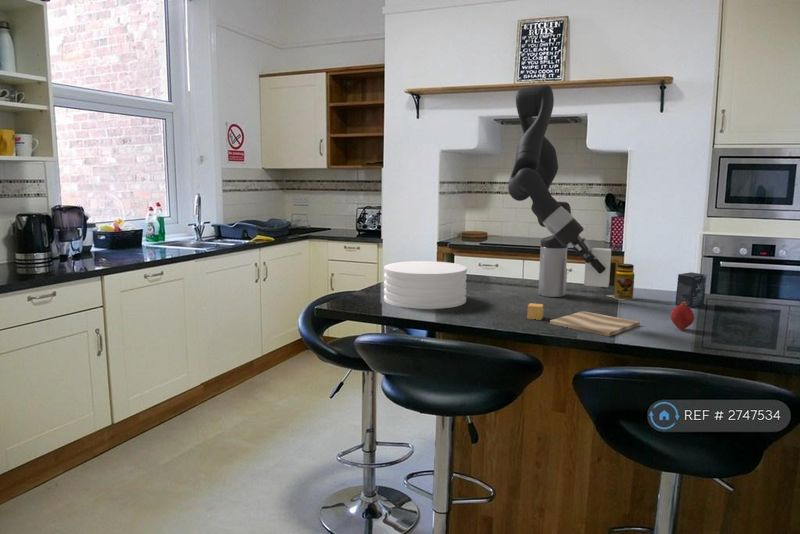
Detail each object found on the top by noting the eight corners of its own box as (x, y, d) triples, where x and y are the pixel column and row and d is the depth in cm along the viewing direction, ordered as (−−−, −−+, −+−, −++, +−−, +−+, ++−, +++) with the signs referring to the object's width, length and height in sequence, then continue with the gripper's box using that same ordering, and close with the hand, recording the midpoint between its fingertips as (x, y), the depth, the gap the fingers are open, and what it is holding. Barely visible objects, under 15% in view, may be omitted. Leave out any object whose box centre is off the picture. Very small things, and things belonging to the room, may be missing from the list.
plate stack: (436, 313, 180) (436, 276, 178) (366, 301, 197) (366, 267, 195) (481, 299, 202) (482, 266, 200) (415, 289, 219) (415, 258, 217)
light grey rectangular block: (585, 281, 169) (587, 247, 168) (609, 283, 167) (611, 248, 166) (583, 285, 164) (586, 250, 162) (608, 287, 161) (610, 251, 160)
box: (691, 308, 189) (694, 276, 188) (674, 305, 194) (677, 273, 192) (704, 305, 194) (707, 274, 192) (688, 302, 198) (690, 271, 197)
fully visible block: (529, 316, 177) (530, 303, 177) (542, 317, 176) (543, 304, 175) (527, 319, 174) (527, 305, 173) (540, 320, 172) (541, 307, 171)
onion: (665, 327, 165) (667, 299, 164) (685, 326, 165) (687, 299, 164) (677, 332, 159) (679, 304, 158) (697, 332, 160) (699, 303, 158)
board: (582, 314, 180) (582, 311, 180) (639, 325, 167) (639, 321, 167) (549, 323, 168) (549, 320, 167) (608, 336, 155) (609, 332, 154)
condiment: (622, 300, 200) (625, 266, 198) (605, 296, 208) (607, 262, 206) (639, 299, 203) (641, 265, 201) (621, 294, 211) (623, 261, 209)
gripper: (570, 218, 159) (613, 264, 156) (575, 215, 172) (615, 257, 169) (549, 237, 161) (591, 282, 159) (556, 232, 175) (595, 274, 172)
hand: (603, 269), depth 164 cm, fingers closed on light grey rectangular block, 6 cm apart
